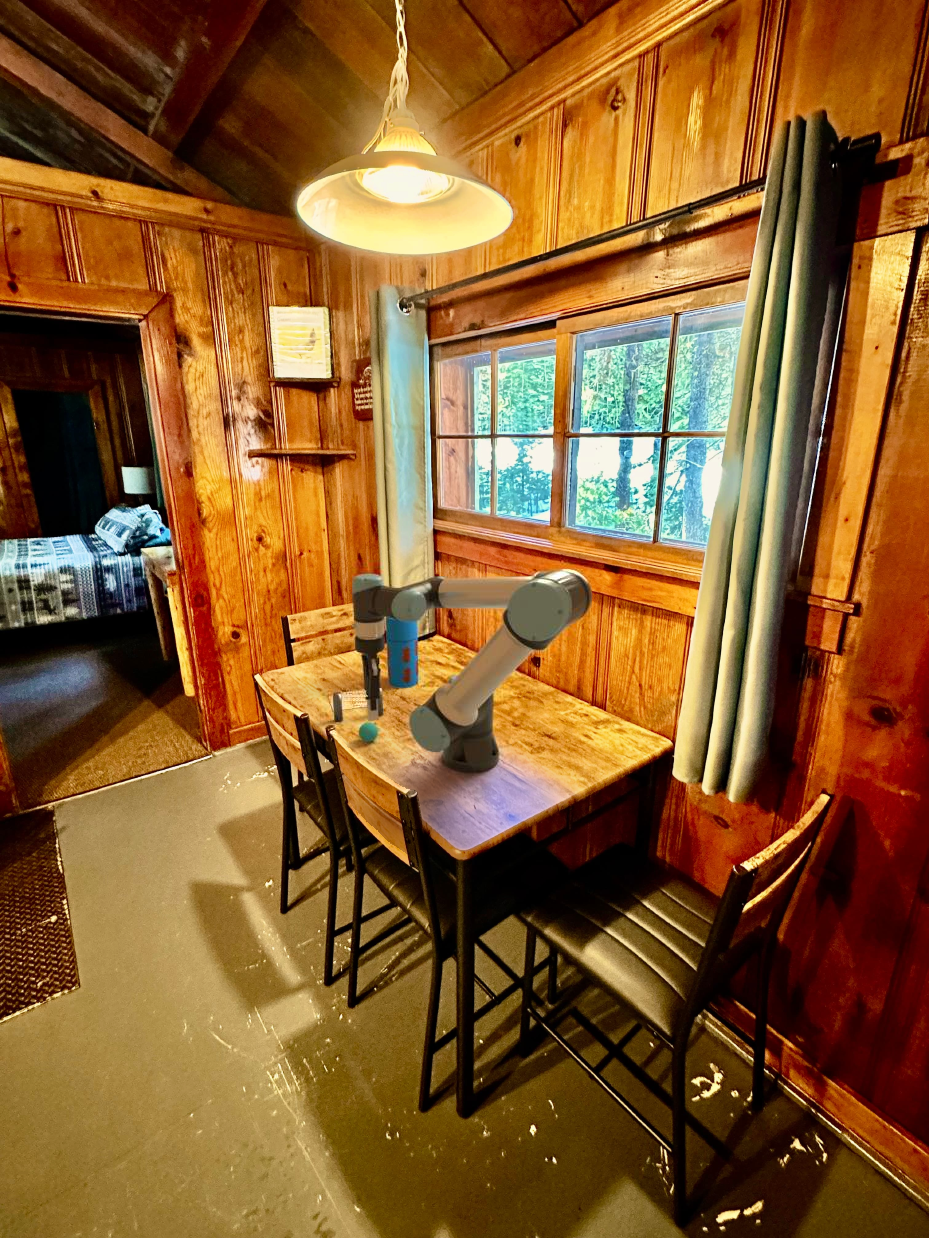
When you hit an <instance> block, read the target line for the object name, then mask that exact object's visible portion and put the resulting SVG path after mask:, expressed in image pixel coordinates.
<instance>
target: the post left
mask: <svg viewBox="0 0 929 1238" xmlns="http://www.w3.org/2000/svg"><path fill="white" fill-rule="evenodd" d="M341 693H342V692H341V691H334V692H333V693H331V694H332V695H333V709H334V712H333V722H334V721H335V723H336V722H339V723H342V722H344V716H343V710H342V698H341ZM333 709H332V710H333ZM341 721H342V722H341Z"/></svg>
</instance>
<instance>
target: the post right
mask: <svg viewBox="0 0 929 1238" xmlns="http://www.w3.org/2000/svg"><path fill="white" fill-rule="evenodd" d="M379 696H380V697H379V699H378V717H383V715H384V700H383V699H384V698H383V687H382V686H380V693H379Z"/></svg>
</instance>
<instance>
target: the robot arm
mask: <svg viewBox="0 0 929 1238" xmlns="http://www.w3.org/2000/svg"><path fill="white" fill-rule="evenodd" d="M383 581H384V580H383V577H382V576H381V575H379V574H375V573H363V574H358V575H355V576H354V577H353V578H352V581H351V582H352V585H351V586H352V590H351V591H352V592H351V595H352V596H351V598H352V606H353V607H352V608H353V609H352V610H353V611H352V612H353V622H354V623H353V624H351V628H352V629H353V630H354V635H355V636H354V650H355V651H356V652H357V653H360V654H361V655H360V657H361V662H362V671H363V684H364V686H363V687H364V689H365V691H366V695H367V697H365V699H366V700H367V707H366V717H367V718H366V719H367V721H368V722H374V721H378V720H379V719H380V718H379V716H378V699H379V697H380V696H379V693H380V687H381V686H380V682H381V680H380V679H381V671H382V669H381V667H380V657H378V653H381V652H383V651H384V650H385V648H386V647H385V645H386V643H385V641H386V640H385V635H384V634H385V618H386V617H388V618H392V619H397V620H400V621H403V622H417V623H418V621H420V620H421V618H422V617H423V616H424V615H425V612H427V611H429V610H432V609H489V610H490V609H491V610H492V609H496V610H498V609H499V610H501V609H502V610H504V609H505V610H504V611H503V613H502V615H501V616H502V617H501V618H502V619H501V620H502V624H501V626H500V627H499V628H498V629H497V630H496V631H495V632H494V633H493V635H492V636H491V637H490V638H489V639H488V640H487V642H486V643H485V644H484V645H483V646H482V647H481V649H479V651H478V652H477V653H476V654H475V655H474V657H473V658H472V659H471V660H470V661H469V663H467V664H466V665H465V667H464V668H463V669H462V670H461V672H460V673H458V674H457V675H452V676H451V677H450V678H449V679H448V683H444V684H442V685H440V686H439V687H438V688H437V689H436V690H435V691H434V692H433V694H432V695H431V696H430V697H429V698H428V699H427V700H426V701H425V702H424V703H422V705H419V706H417V707H416V708H414V710H413V711H412V712H411V713H410V716H409V719H408V724H409V728H410V733H411V736H412V737H413V738H414V740H415V742H416V743H417V744H418V745H419V746H420V747H421V748H422V749H424V750H425V751H428V752H430V753H440V752H442V760H443V763H444V764H445V765H446V766H448V767H449V768H450V769H452V770H455V771H459V772H462V773H479V772H484V771H487V770H489V769H492V768H494V767H495V766H496V765H497V764H498V762H499V761H500V760H499V759H500V750H499V746H498V744H497V740H496V737H495V734H494V732H493V731H494V698H495V697H494V696H495V692H496V691H497V689H498V688H500V687H501V686H502V684H503V683H504V682H505V681H506V680H507V679H508V678H509V677H510V676H511V675H512V674H513V672H515V671H516V670H517V668H519V666H520V665H521V664H522V663H523V662H524V661H525V660H526V659H527V658H528V657H529V656H530V655H531V654H532V653H533V652H541V651H544V650H545V649H547V648H548V647H549V646H550V645H551V643H553V642H554V641H555V640H556V639H557V638H558V637H559V635H560V634H561V633H562V632H564V631H565V629H567V628H568V627H570V626H571V625H572V624H573V625H574V623H576V622H578V621H579V620H581V619H582V618H583V617H584V616H585V615H586V614H587V613H588V612H589V610H590V607H591V605H592V603H593V591H592V590H593V589H592V588H591V584H590V582H589V581H588V580H587V578H586V577H585V576H584V575H582V574H581V573H580V572H578V571H576V570H573V569H567V568H563V569H557V570H548V571H537V572H536V573H535V574H534V575H530V576H529V575H528V576H526V575H525V576H504V577H503V576H500V577H499V576H497V577H494V576H493V577H492V576H491V577H490V576H489V577H470V578H469V577H460V578H459V577H457V578H445V577H443V576H433V577H429V578H427V579H423V580H421V581H418V582H415V583H412V584H407V585H404V586H401V587H393V586H389V585H384V582H383ZM364 689H363V690H364Z"/></svg>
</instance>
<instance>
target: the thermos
mask: <svg viewBox="0 0 929 1238" xmlns="http://www.w3.org/2000/svg"><path fill="white" fill-rule="evenodd" d="M385 632H386V633H385V634H386V636H385V637H386V654H387V655H386V656H387V658H386V659H387V677H388V684H390V685H389V686H390V687H392V686H393V687H392V688H395V687H397V688H396V689H408V688H412V687H415V686H416V685H418V683H419V644H418V643H419V641H418V640H419V637H418V636H419V635H418V634H419V633H418V621H417V622H403V621H400V620H397V619H392V618H388V617H385Z"/></svg>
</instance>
